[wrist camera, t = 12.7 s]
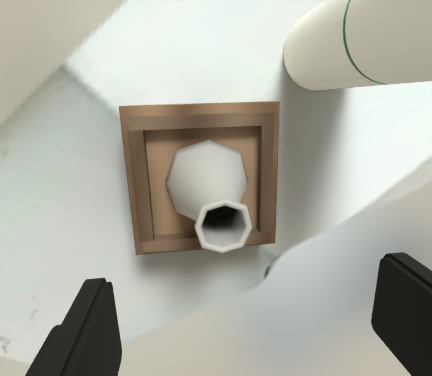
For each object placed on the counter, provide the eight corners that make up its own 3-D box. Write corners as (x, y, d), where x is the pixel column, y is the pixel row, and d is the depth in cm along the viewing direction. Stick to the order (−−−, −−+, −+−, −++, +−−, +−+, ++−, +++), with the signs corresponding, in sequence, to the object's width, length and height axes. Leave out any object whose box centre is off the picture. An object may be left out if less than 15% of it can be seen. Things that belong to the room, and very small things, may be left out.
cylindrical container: (367, 39, 29) (1276, -263, 5) (325, 104, 30) (885, 112, 6) (311, -7, 27) (1295, -812, 3) (269, 64, 28) (748, -136, 4)
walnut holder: (263, 101, 29) (284, 101, 23) (261, 222, 33) (279, 249, 27) (129, 105, 28) (115, 106, 22) (142, 231, 32) (134, 261, 26)
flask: (164, 138, 24) (155, 161, 15) (250, 140, 25) (295, 164, 16) (165, 220, 26) (157, 287, 17) (244, 219, 27) (280, 283, 18)
